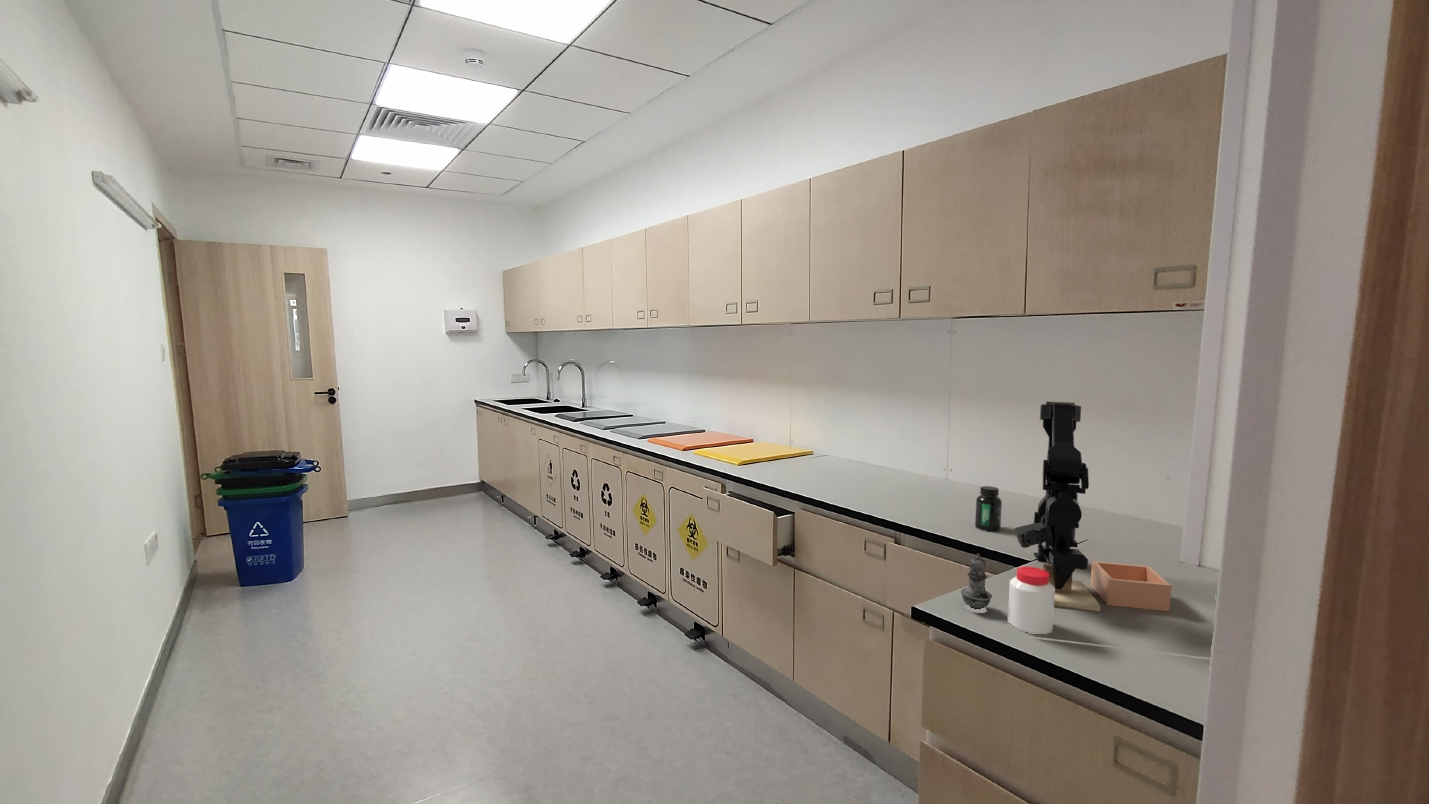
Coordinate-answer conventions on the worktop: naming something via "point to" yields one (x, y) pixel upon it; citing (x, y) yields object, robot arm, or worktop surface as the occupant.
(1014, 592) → the pill bottle
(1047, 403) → the robot arm
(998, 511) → the supplement bottle
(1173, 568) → the worktop surface
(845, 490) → the worktop surface
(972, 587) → the grey figurine
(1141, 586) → the pink open tray
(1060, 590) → the lid
